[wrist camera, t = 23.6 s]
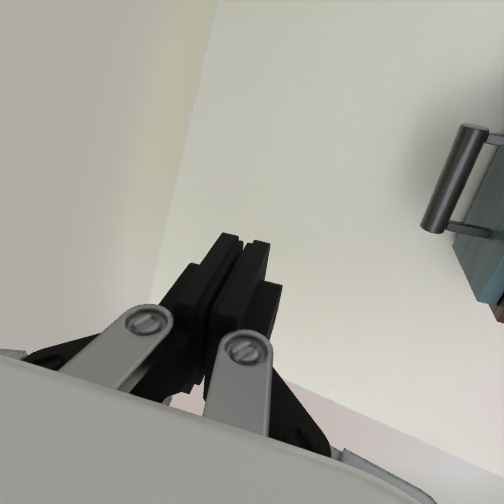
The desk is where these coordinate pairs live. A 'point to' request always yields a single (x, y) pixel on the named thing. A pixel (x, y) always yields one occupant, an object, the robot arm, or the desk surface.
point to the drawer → (473, 212)
